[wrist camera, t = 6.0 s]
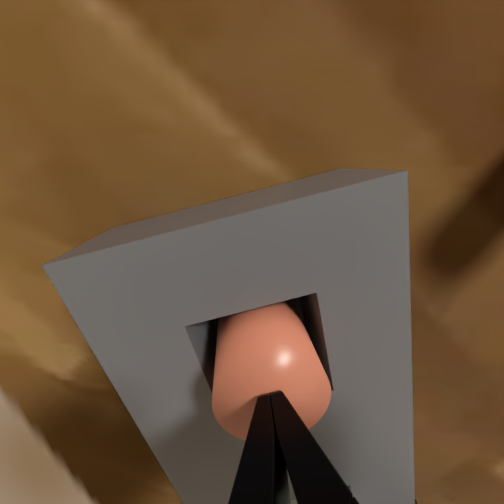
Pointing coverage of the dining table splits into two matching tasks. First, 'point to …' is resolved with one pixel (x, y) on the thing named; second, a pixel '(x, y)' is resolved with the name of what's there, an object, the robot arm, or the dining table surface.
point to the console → (253, 296)
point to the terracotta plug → (266, 366)
